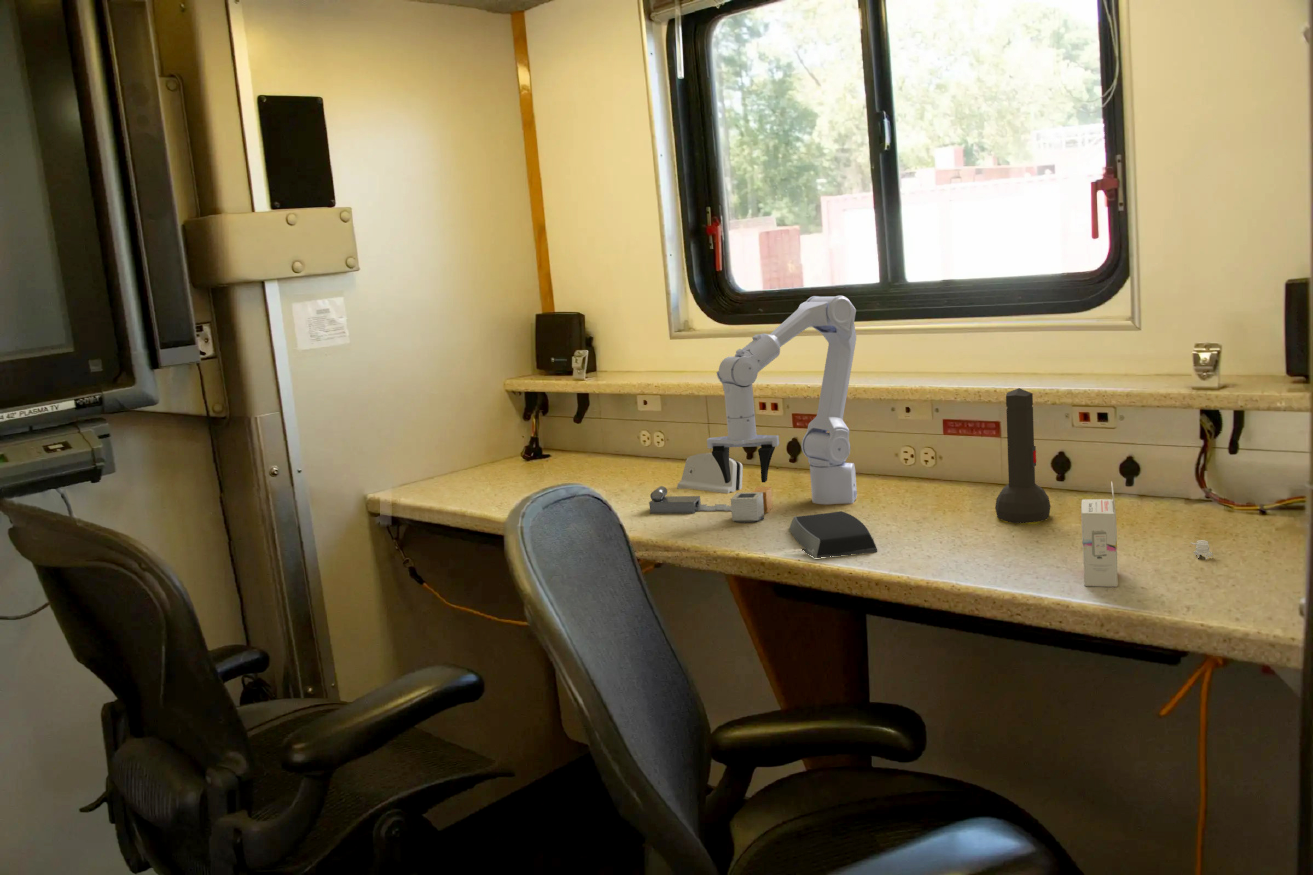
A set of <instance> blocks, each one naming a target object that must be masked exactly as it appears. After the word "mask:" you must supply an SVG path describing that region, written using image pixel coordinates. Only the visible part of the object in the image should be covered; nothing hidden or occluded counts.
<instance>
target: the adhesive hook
mask: <svg viewBox="0 0 1313 875" xmlns="http://www.w3.org/2000/svg"><path fill="white" fill-rule="evenodd" d="M1190 545H1194V546H1196V547H1194V549H1195V551H1193V552H1192V553H1193V555H1194V556H1195V555H1198V556H1197V559H1198V558H1199V559H1200V555H1202V556H1204V557H1205V560H1206V559H1208V560H1209V558H1208V556H1209V557H1211V556H1214V554H1213V552H1210V545H1209V541H1207V540H1204V539H1203V540H1201V539H1200V540H1197V539H1196V542H1190Z"/></svg>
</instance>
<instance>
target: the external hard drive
mask: <svg viewBox="0 0 1313 875" xmlns="http://www.w3.org/2000/svg"><path fill="white" fill-rule="evenodd" d="M791 520H792V521H791V523H790V525H789V531H790V534H791V535H792V537H793V539H795V541H796V542H797V543H798V544H799V545H801V546H802V547H803V548H801V549H802V550H801V551H803V550H804V551H805V552H806V553H807V554H806V553H805V552H804V551H803V552H804V553H805V554H806V555H808V554H809V555H811V556H813V557H814V558H821V557H830V556H831V557H832V556H840V557H842V556H841V555H848V556H852V555H851V554H856V555H863V554H862V553H864V554H871V553H878V552H877V551H878V547H877V545H876V544H875V541H874V539H873V537H872V534H871V533H870V531H869V530H868V528H867V526H866V525H865V524H864V523H863V522H862V521H861V520H860V519H859V518H857V517H855V516H854V515H852V514H849V513H848V512H846V511H842V510H839V511H834V512H833V511H832V512H827V513H818V514H809V515H798V516H794V517H793V518H792V519H791ZM809 555H808V556H809ZM832 558H833V557H832Z"/></svg>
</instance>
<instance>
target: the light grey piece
mask: <svg viewBox="0 0 1313 875" xmlns="http://www.w3.org/2000/svg"><path fill="white" fill-rule="evenodd" d="M729 466H730V474H731V481H730V482H729V483H725V480H724V477H723V474H722V471H721V469H720V467H719V465H718V463H717V461H716V460H715V458H714V457H713V455H712V452H705V453H697V454H694V455H690V456H689V457H688V456H687V459H685V464H684V466H683V467H684V468H683V471H682V476H681V480H679V482H678V483H677V486H676V489H678V490H679V489H680V490H682V489H685V490H687V489H688V490H697V491H704V492H714V493H720V494H730V492H731V493H735V492H737V491H740V490H742V489H743V475H744V474H743V472H744V466H743V464H742V463H741V462H740V461H738V460H736V459H734V458H733V457H730V456H729Z"/></svg>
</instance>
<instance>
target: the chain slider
mask: <svg viewBox="0 0 1313 875" xmlns="http://www.w3.org/2000/svg"><path fill="white" fill-rule="evenodd" d="M772 491H773V490H772V486H757V487H756V488H755V489H753V491H752V492H763V504H764V514H768V513H769V512H770V511H771V509H772V508H773V506H774V505H773V492H772ZM695 506H696V512H698V511H699V512H701V511H705V512H716V511H725V512H729V511H730V512H732V510H731V505H727V503H726V504H725V503H724V504H721V503H716V504H714V505H708V504H704V503H701V504H696V505H695Z"/></svg>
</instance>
